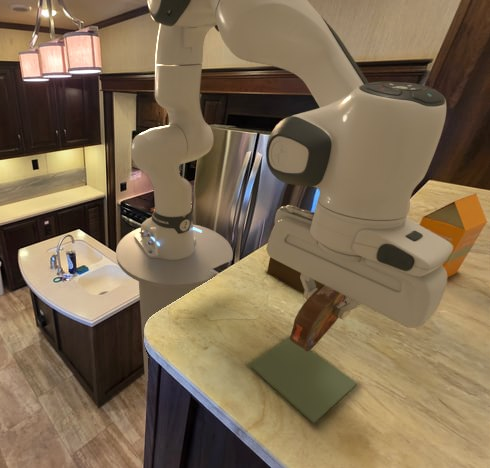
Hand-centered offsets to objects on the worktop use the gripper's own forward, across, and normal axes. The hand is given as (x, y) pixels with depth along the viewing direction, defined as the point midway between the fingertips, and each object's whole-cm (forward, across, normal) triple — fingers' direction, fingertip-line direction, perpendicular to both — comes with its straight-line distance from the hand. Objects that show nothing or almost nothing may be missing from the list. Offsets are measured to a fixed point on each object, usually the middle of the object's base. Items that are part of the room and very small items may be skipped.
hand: (324, 306), depth 43 cm
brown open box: (+16, -16, +30) cm, 38 cm away
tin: (+5, 0, 0) cm, 5 cm away
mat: (+16, 0, 0) cm, 16 cm away
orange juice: (+16, -1, +53) cm, 56 cm away
